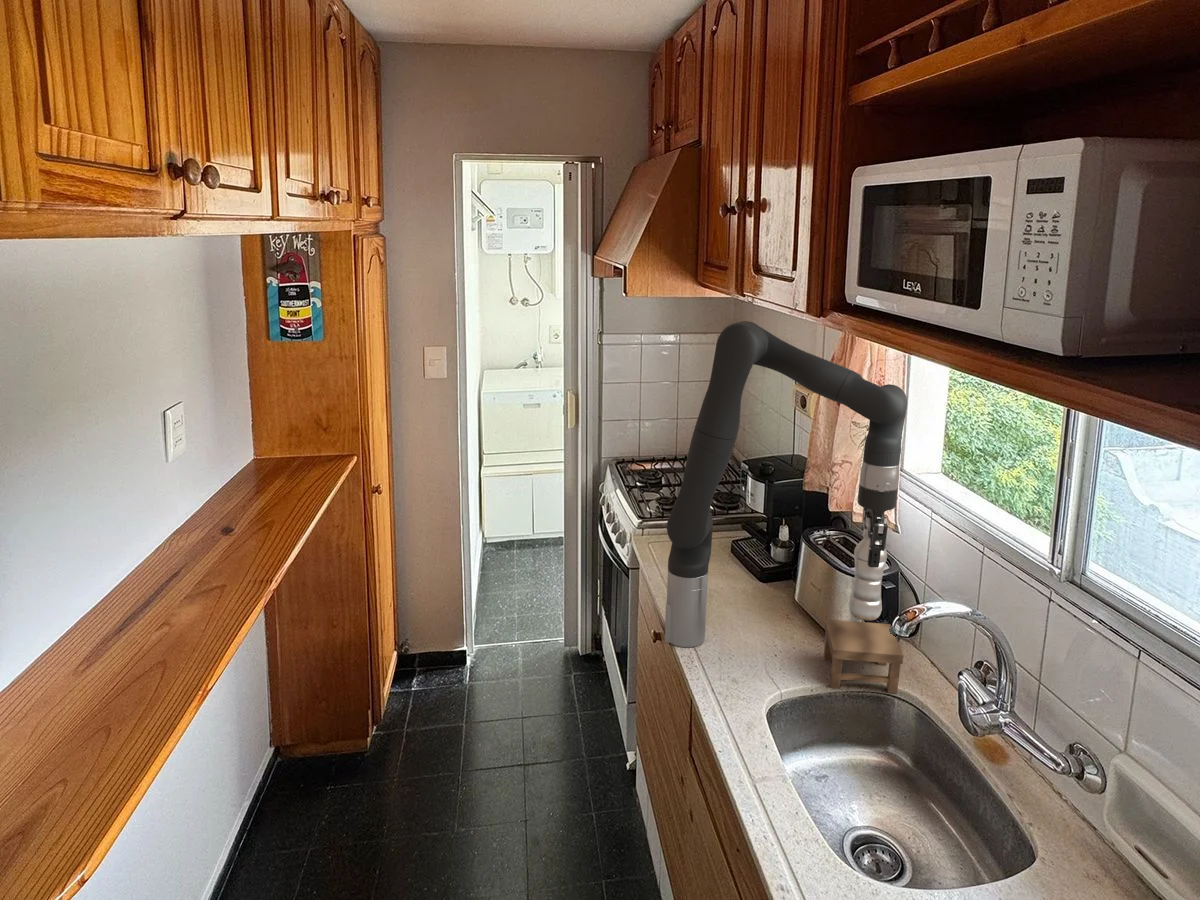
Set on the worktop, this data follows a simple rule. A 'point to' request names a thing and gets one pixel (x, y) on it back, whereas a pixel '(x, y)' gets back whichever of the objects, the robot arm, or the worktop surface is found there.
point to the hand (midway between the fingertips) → (870, 559)
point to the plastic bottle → (866, 583)
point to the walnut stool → (862, 650)
